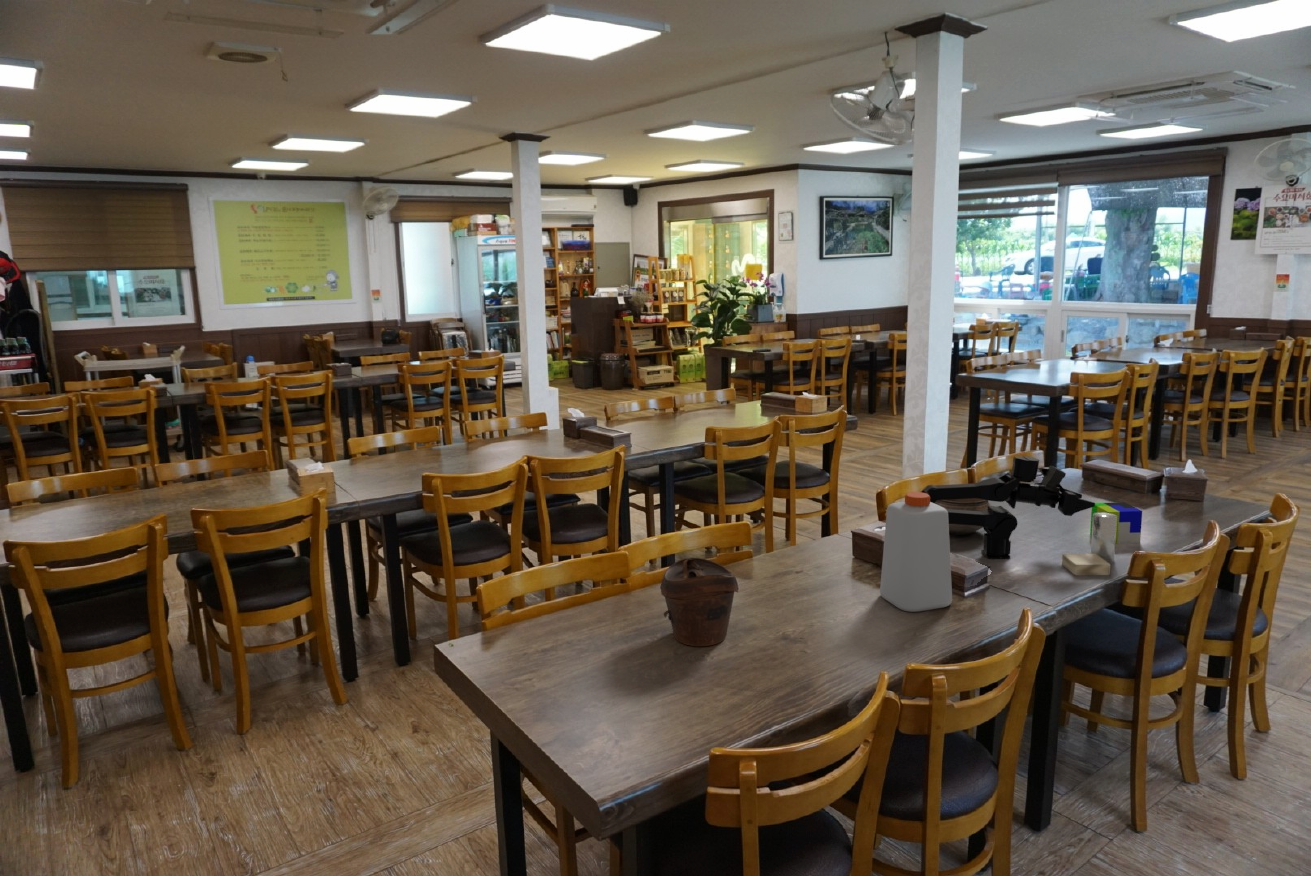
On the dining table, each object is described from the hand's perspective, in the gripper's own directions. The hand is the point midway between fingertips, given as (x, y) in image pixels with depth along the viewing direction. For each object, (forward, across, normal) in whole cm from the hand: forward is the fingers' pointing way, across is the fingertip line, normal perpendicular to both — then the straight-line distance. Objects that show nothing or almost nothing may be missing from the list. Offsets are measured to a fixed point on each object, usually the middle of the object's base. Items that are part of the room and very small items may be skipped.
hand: (1088, 500), depth 243 cm
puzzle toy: (+17, +15, +14) cm, 27 cm away
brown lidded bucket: (-106, -57, +32) cm, 124 cm away
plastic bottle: (-52, -35, +24) cm, 67 cm away
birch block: (-2, -12, +17) cm, 21 cm away
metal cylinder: (+5, -4, +16) cm, 17 cm away
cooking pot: (-27, +23, +20) cm, 41 cm away
